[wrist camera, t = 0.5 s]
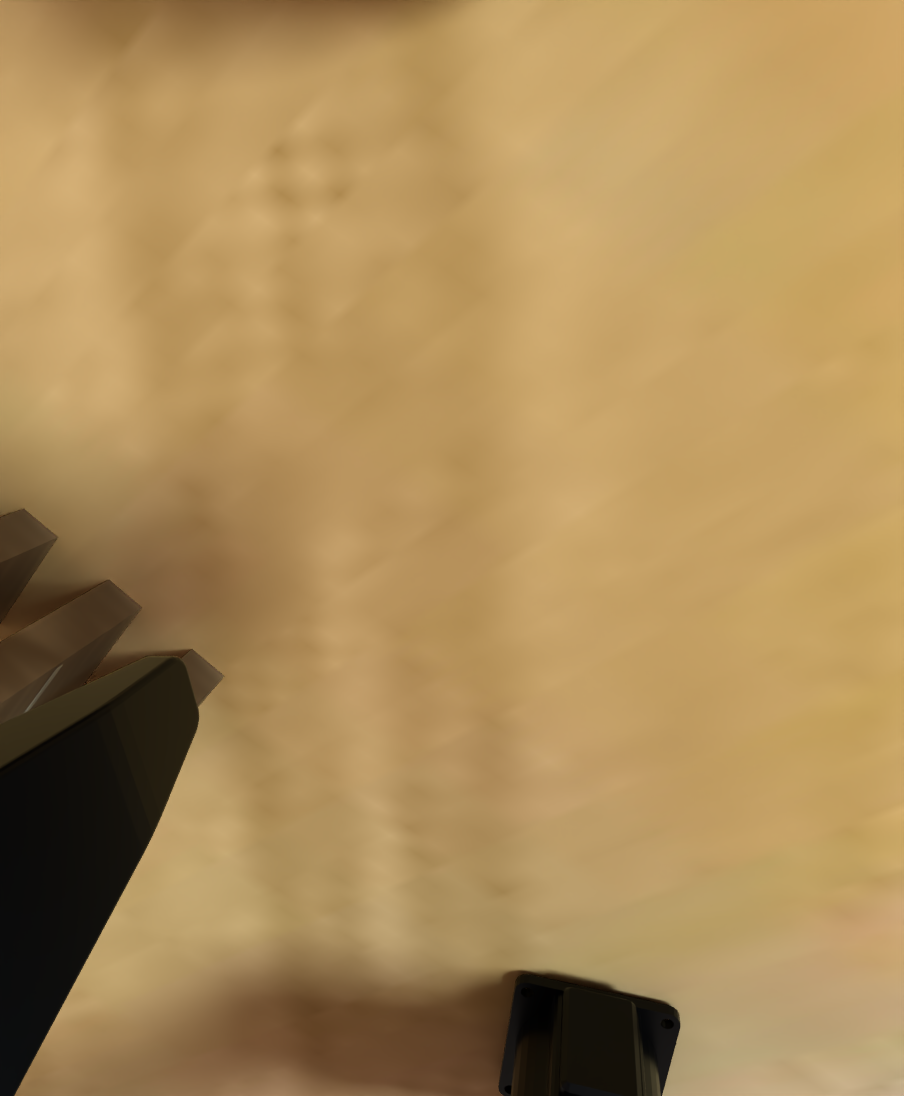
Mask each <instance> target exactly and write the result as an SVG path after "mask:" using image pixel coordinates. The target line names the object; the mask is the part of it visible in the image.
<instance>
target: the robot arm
mask: <svg viewBox="0 0 904 1096" xmlns="http://www.w3.org/2000/svg"><path fill="white" fill-rule="evenodd" d="M198 722H199V710H198V706H197V702H196V699H195V695H194V691H193V688H192V684H191V681H190V677H189V674H188V670H187V667H186V664H185V663H184V661H183V660H182V659H181V658H179V657H177V656H147V657H144V658H142V659H140V660H138V661H136V662H134V663H131V664H129V665H127V666H125V667H123V668H121V669H119V670H116V671H114V672H112V673H110V674H108V675H106V676H103V677H101V678H99V679H97V680H95V681H93V682H90V683H88V684H86V685H84V686H82V687H80V688H77V689H75V690H73V691H71V692H69V693H67V694H64V695H62V696H60V697H58V698H56V699H54V700H51V701H49V702H47V703H45V704H43V705H41V706H38V707H36V708H34V709H32V710H30V711H28V712H25V713H23V714H21V715H19V716H17V717H15V718H12V719H10V720H8V721H6V722H4V723H2V724H0V1096H14V1095H15V1093H16V1091H17V1089H18V1088H19V1086H20V1084H21V1082H22V1080H23V1078H24V1076H25V1075H26V1073H27V1071H28V1069H29V1067H30V1065H31V1063H32V1061H33V1060H34V1058H35V1056H36V1054H37V1052H38V1050H39V1048H40V1046H41V1045H42V1043H43V1041H44V1039H45V1037H46V1035H47V1033H48V1032H49V1030H50V1028H51V1026H52V1024H53V1022H54V1020H55V1018H56V1017H57V1015H58V1013H59V1011H60V1009H61V1007H62V1005H63V1003H64V1002H65V1000H66V998H67V996H68V994H69V992H70V990H71V988H72V987H73V985H74V983H75V981H76V979H77V977H78V975H79V974H80V972H81V970H82V968H83V966H84V964H85V962H86V960H87V959H88V957H89V955H90V953H91V951H92V949H93V947H94V945H95V944H96V942H97V940H98V938H99V936H100V934H101V932H102V930H103V929H104V927H105V925H106V923H107V921H108V919H109V917H110V916H111V914H112V912H113V910H114V908H115V906H116V904H117V902H118V901H119V899H120V897H121V895H122V893H123V891H124V889H125V887H126V886H127V884H128V882H129V880H130V878H131V876H132V874H133V872H134V871H135V869H136V867H137V865H138V863H139V861H140V859H141V858H142V856H143V854H144V852H145V850H146V848H147V846H148V844H149V842H150V840H151V838H152V836H153V834H154V831H155V829H156V827H157V825H158V823H159V820H160V818H161V816H162V813H163V811H164V809H165V806H166V804H167V801H168V799H169V796H170V794H171V791H172V789H173V787H174V784H175V782H176V779H177V777H178V774H179V772H180V770H181V767H182V765H183V762H184V760H185V757H186V755H187V752H188V750H189V748H190V745H191V743H192V740H193V738H194V735H195V733H196V730H197V727H198ZM526 988H530V989H526ZM664 1019H669V1020H664ZM679 1030H680V1017H679V1013H678V1011H677V1010H676V1009H675V1008H674V1007H671V1006H669V1005H664V1004H660V1003H655V1002H651V1001H646V1000H642V999H637V998H633V997H628V996H624V995H619V994H615V993H610V992H606V991H601V990H597V989H592V988H588V987H583V986H579V985H574V984H570V983H565V982H561V981H556V980H551V979H547V978H542V977H538V976H533V975H528V974H524V975H520V976H519V977H518V978H517V980H516V983H515V989H514V995H513V1001H512V1007H511V1013H510V1019H509V1025H508V1031H507V1037H506V1043H505V1049H504V1055H503V1061H502V1067H501V1073H500V1080H499V1091H500V1093H501V1094H502V1095H503V1096H662V1094H663V1090H664V1086H665V1082H666V1079H667V1075H668V1071H669V1067H670V1064H671V1060H672V1056H673V1052H674V1049H675V1045H676V1041H677V1037H678V1034H679Z"/></svg>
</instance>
